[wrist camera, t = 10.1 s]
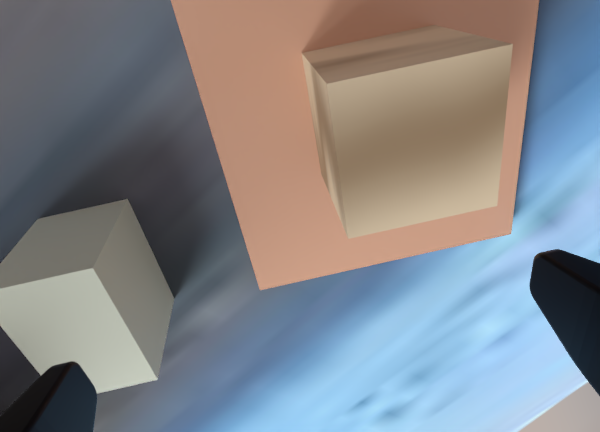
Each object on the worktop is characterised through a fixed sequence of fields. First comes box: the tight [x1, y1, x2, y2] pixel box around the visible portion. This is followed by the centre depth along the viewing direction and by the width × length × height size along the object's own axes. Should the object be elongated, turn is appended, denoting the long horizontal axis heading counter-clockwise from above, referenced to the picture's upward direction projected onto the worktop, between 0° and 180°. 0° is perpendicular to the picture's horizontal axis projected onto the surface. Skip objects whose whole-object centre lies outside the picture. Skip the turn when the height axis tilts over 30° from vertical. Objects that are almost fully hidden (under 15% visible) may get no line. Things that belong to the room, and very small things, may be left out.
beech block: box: [302, 25, 513, 239], centre depth 14 cm, size 5×5×5 cm
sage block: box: [0, 199, 174, 393], centre depth 17 cm, size 6×4×5 cm, turn 10°
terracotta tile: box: [171, 0, 539, 290], centre depth 16 cm, size 16×13×1 cm
